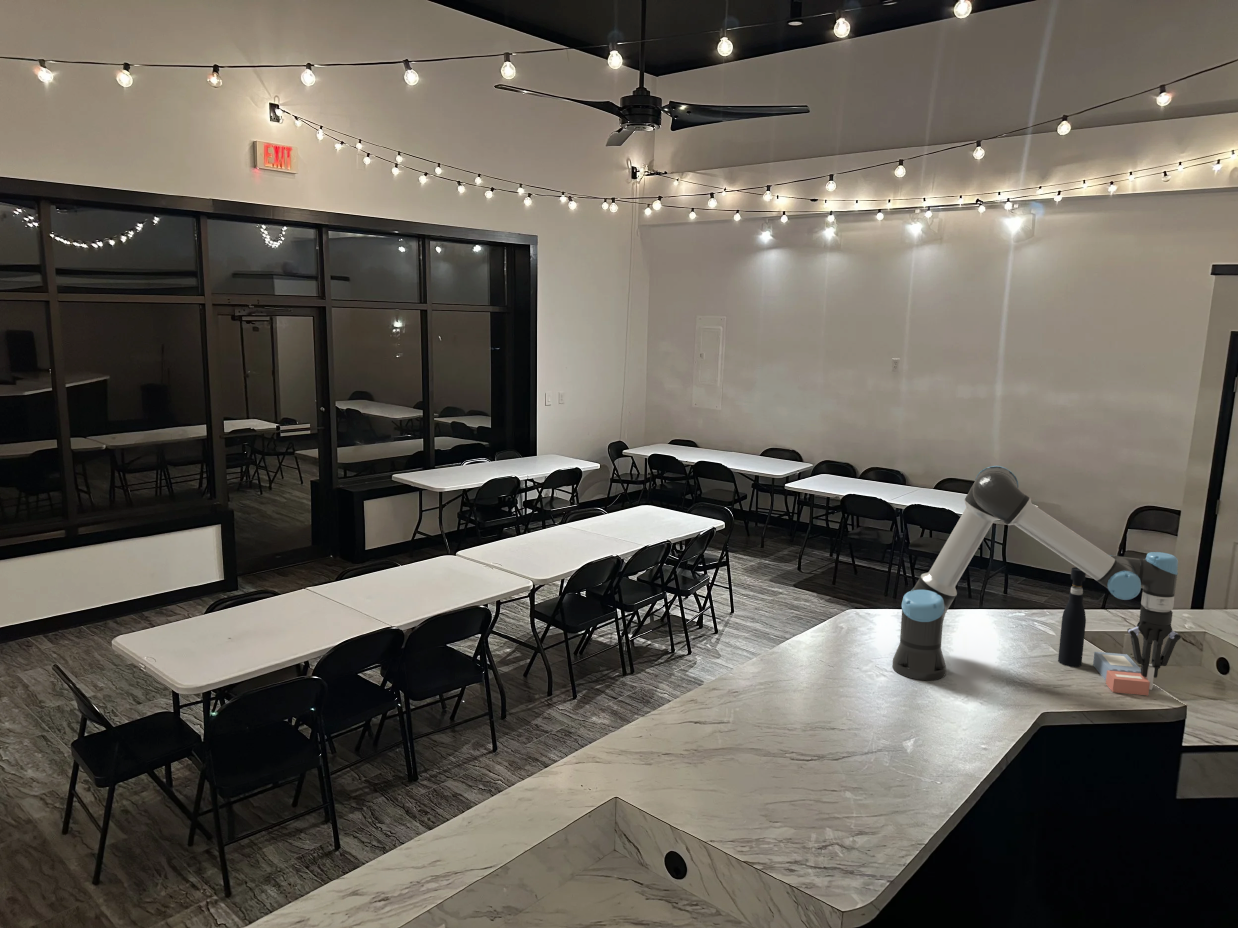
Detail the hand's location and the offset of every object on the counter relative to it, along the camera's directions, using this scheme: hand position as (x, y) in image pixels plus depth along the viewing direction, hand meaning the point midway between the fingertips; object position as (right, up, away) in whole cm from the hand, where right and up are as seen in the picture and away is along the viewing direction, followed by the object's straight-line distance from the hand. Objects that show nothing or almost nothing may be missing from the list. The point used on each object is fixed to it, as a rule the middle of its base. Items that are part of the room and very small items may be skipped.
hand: (1147, 687), depth 234 cm
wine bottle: (-11, +2, +20) cm, 23 cm away
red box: (-5, -1, +1) cm, 5 cm away
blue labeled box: (-2, +1, +11) cm, 11 cm away
